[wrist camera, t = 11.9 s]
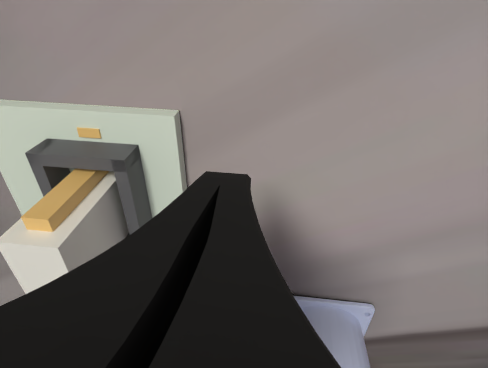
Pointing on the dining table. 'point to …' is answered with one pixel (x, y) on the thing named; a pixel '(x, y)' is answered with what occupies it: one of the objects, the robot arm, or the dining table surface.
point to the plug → (65, 228)
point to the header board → (93, 152)
